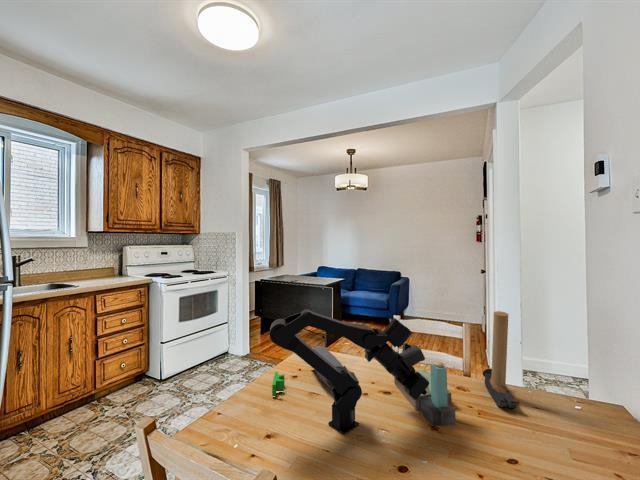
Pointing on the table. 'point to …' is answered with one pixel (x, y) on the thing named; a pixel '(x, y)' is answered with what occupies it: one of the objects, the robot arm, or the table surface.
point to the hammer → (499, 363)
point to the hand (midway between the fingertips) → (425, 393)
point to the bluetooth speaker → (331, 359)
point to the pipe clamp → (277, 383)
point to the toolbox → (430, 404)
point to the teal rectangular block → (439, 384)
